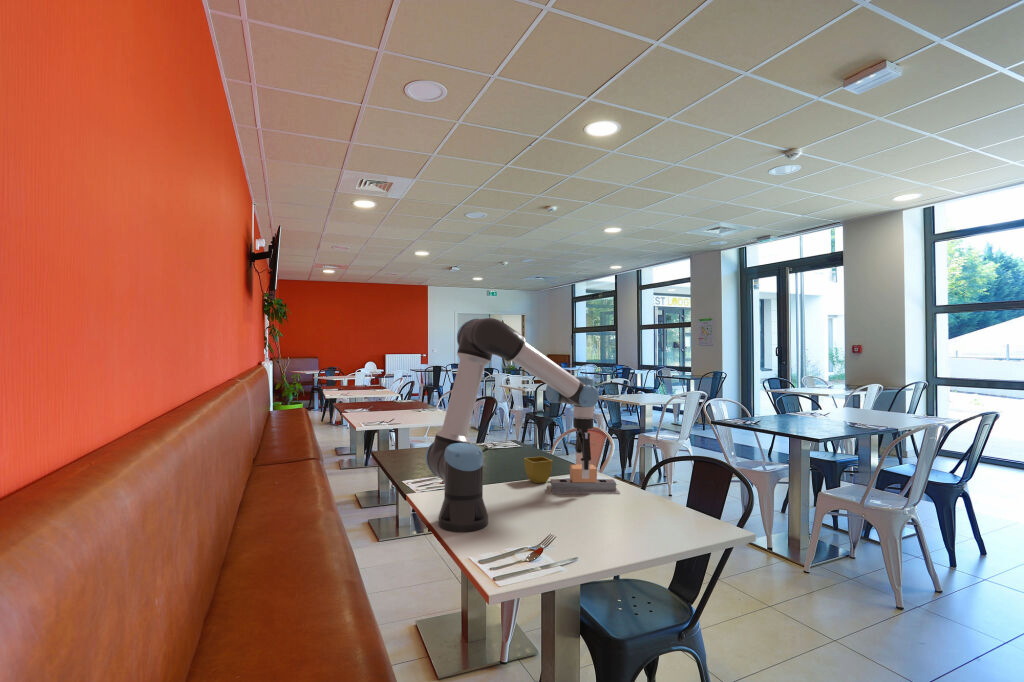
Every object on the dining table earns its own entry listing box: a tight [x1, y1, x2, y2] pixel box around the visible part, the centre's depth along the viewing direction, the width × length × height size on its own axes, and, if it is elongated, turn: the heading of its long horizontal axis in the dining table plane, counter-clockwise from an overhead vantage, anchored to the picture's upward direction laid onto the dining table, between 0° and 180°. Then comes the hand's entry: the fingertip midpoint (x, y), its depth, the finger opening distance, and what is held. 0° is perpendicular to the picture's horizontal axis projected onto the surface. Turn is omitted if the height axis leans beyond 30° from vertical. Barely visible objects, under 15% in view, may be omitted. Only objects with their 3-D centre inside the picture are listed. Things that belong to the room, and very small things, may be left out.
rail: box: [546, 478, 621, 495], centre depth 196 cm, size 10×26×3 cm, turn 92°
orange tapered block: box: [569, 464, 598, 482], centre depth 196 cm, size 9×7×8 cm
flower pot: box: [523, 456, 553, 484], centre depth 207 cm, size 9×9×9 cm
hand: (582, 473), depth 196 cm, fingers open, 13 cm apart
